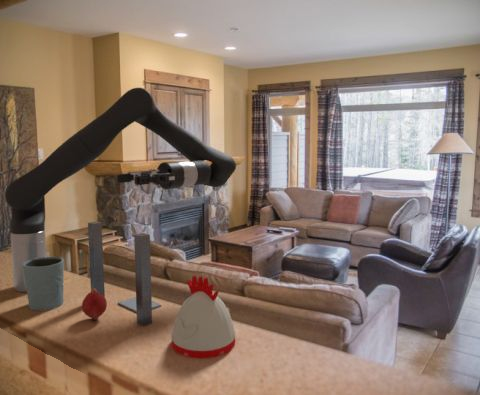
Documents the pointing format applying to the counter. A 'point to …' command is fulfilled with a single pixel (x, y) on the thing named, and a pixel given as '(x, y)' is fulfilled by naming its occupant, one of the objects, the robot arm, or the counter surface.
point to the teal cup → (44, 282)
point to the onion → (94, 304)
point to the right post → (143, 279)
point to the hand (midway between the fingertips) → (126, 179)
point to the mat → (132, 304)
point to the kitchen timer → (203, 323)
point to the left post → (96, 256)
